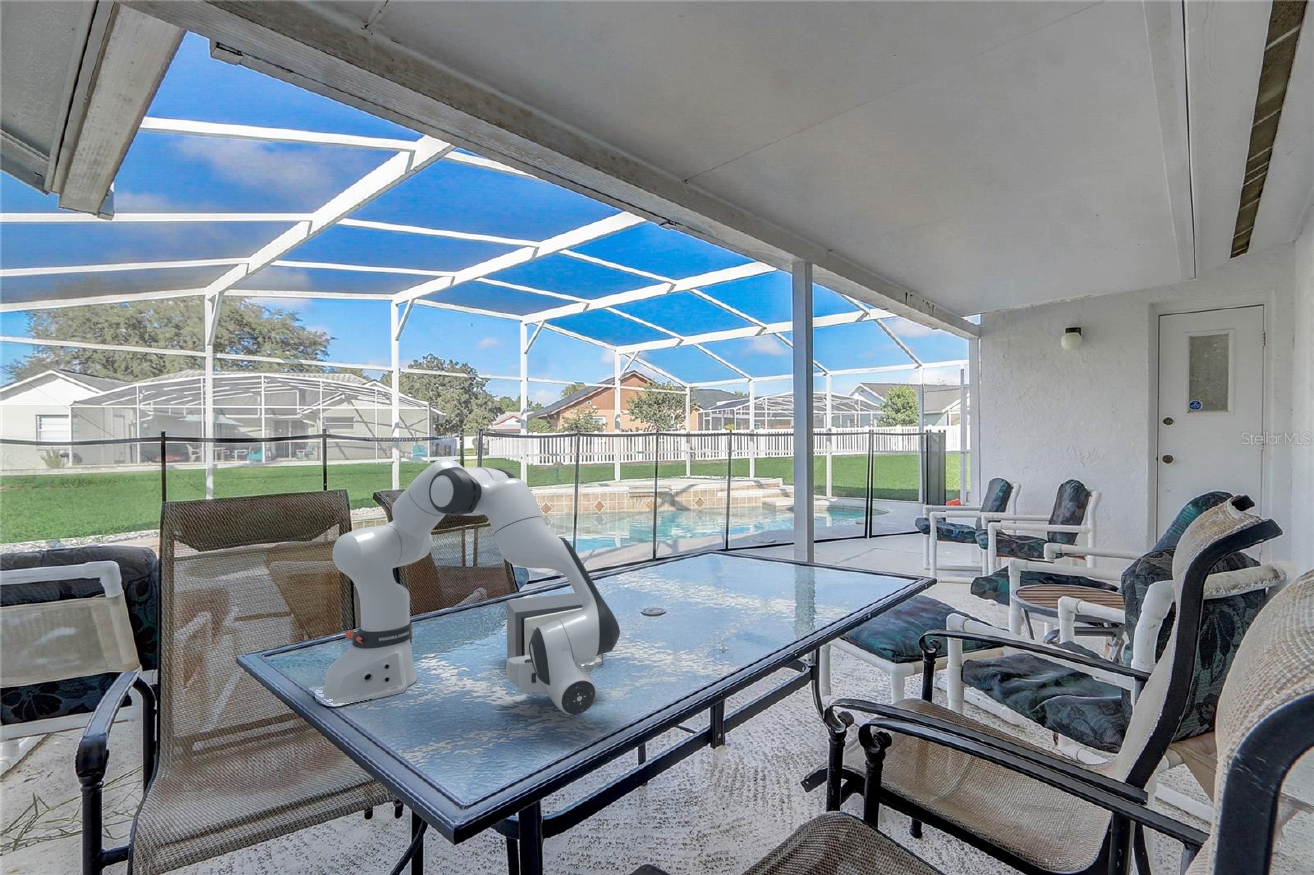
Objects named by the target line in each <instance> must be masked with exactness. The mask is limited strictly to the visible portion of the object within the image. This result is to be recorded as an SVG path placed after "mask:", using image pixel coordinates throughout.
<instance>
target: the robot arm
mask: <svg viewBox="0 0 1314 875" xmlns="http://www.w3.org/2000/svg"><path fill="white" fill-rule="evenodd" d="M446 515H447V516H453V517H458V516H467V517H468V516H472V517H473V516H482V515H483V516H486V518H487V519H488V521H489V523H490V526H491V531H492V533H493V537H494V540H495V543H496V546H497V548H498V550H499V553H500V554H501V556H502V558H503V559H504V560H505V561H506V562H508V563H510V564H512V565H513V566H516V567H521V568H526V569H548V570H549V569H550V570H553V571H557V572H560V573H561V574H562V575H563V576H565V578H566V579H567V580H568V582H569V585H570V586H571V588H572V589H573V591H574V593H576V595H577V597H578V599H579V600H580V602H581V604H582V606H583V608H582V609H581V610H580V611H578V612H576V613H573V614H570V615H568V616H565V617H563V618H560V619H557V620H554V621H551V622H549V623H546V624H544V625H542V626H539V627H537V628H536V629H535V631H534V632H533V634H532V637H531V640H530V643H529V652H530V655H525V656H519V657H512V658H509V659H507V658H506V662H505V664H506V666H505V667H506V671H505V672H506V676H507V678H508V680H509V681H510V682H511V683H512V685H514V686H516V687H518V691H519V693H521V694H543V695H548V697H549V698H550V700H551V701H552V703H553V704H554V705H555V706H556V707H557V708H558V709H559V710H560V711H561V712H562V713H564V714H566V715H569V716H577V715H580V714H583V713H584V712H586V711H588V710H589V709H590V707H592V705H593V704H594V701H595V699H596V698H597V697H596V696H597V689H596V685H595V682H594V680H593V677H591V675H590V673H589V672H591V671H594V670H596V668H598V667H599V666H601V665H602V664H603V663H602V660H601V659H600V658H597V657H596V656H598V655H601V654H603V655H604V654H607V653H610V652H612V651H613V650H614V648H615V646H616V644H618V641H619V638H620V635H621V629H620V625H619V621H618V619H617V618H616V616H615V615H614V613H613V612H612V609H610V607H609V605H608V604H607V602H606V601H605V600H604V598H603V597H602V595H601V593H600V592H599V590H598V588H597V587H596V585H595V582H594V581H593V580H592V578H591V576H590V574H589V571H587V569H586V567H585V565H584V564H583V562H582V561H581V558H580V557H579V555H578V554H577V552H576V550H575V549H574V547H573V546H572V544H571V543H570V542H569V541H568V540H567V538H565V537H562V536H557V535H556V534H555V533H554V532H553V531H552V530H551V529H550V528H549V527H548V526H547V523H546V521H545V519H544V516H543V514H542V511H541V508H540V506H539V504H538V502H537V500H536V498H535V496H534V494H533V492H532V490H531V489H530V487H529V486H528V485H527V483H526V482H525V481H524V480H522V479H520V478H517V477H516V476H515V475H514V474H513V473H511V472H510V471H508V470H505V469H501V468H491V467H483V466H474V467H473V466H470V467H469V466H468V467H467V466H466V467H463V466H462V465H461V464H460V463H459V462H457V461H455V460H453V459H449V458H442V459H439V460H438V459H437V460H436V461H434V462H433V463H432V464H430V465H429V466H428V467H426V468H425V469H424V470H423V471H422V472H421V473H419V474H418V475H417V476H416V477H415V478H414V479H413V480H412V482H411V483H410V484H409V485H407V487H406V488H405V489H404V490H403V491H402V493H401V494H400V495H399V496H398V497H397V499H396V500H395V501H394V502H393V504H392V506H391V516H392V520H391V521H390V522H388V523H386V524H381V525H374V526H366V527H360V528H357V529H354V530H351V531H348V532H346V533H344V534H341V535H340V536H338V538H337V539H336V541H335V543H334V544H333V548H332V561H333V563H334V565H335V567H336V568H337V569H338V571H339V572H341V573H343V574H344V575H346V576H347V577H348V578H349V579H350V580H351V582H353V585H354V586H355V588H356V590H357V594H358V598H359V608H360V627H359V629H358V630H356V632H355V631H354V630H351V629H349V630H347V631H346V633H345V634H344V636H345V638H346V639H348V641H349V640H350V641H351V642H352V646H350V647H349V648H348V649H347V650H345V652H344V653H343V654H342V655H340V656H339V657H338V658H337V659H336V660H335V661H334V662H332V663H331V664H330V665H329V667H327V670H326V674H325V680H324V684H323V685H322V686H323V687H322V686H321V687H322V688H319V687H318V688H319V689H317V688H316V689H317V690H323V692H322V693H318V694H324V697H322V698H320V699H326V700H329V699H333V701H331V702H326V703H333V704H338V703H351V702H358V701H362V700H367V701H369V700H368V699H372V700H376V699H381V698H384V697H385V698H386V697H389V696H392V695H397V694H398V695H399V694H401V693H404V692H406V691H407V689H408V687H410V686H411V685H413V684H414V683H415V682H416V681H417V680H418V675H417V673H416V672H417V671H416V669H415V665H414V660H413V653H412V642H413V627H412V623H413V622H411V620H410V619H411V616H410V615H411V613H410V612H411V611H410V610H411V609H410V607H411V606H410V605H411V604H410V602H411V601H410V598H411V596H410V595H411V594H410V591H409V590H408V588H406V587H405V586H404V585H402V584H400V583H397V582H396V579H395V577H394V572H393V569H395V568H399V567H405V566H408V565H411V564H414V563H416V562H418V561H421V560H422V559H424V558H425V557H427V556H428V555H429V554H430V552H431V550H432V547H433V546H432V545H433V536H432V534H431V533H432V531H433V530H434V529H435V527H436V526H437V525H438V524H439V523H440V522H442V520H443V519H444V517H445V516H446Z"/></svg>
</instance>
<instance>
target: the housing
mask: <svg viewBox="0 0 1314 875" xmlns="http://www.w3.org/2000/svg"><path fill="white" fill-rule="evenodd" d="M578 608H583V606H582V604H581V602H580V600H579V599H578V597H577V595H576V593H575V592H572V593H570V592H569V593H563V594H553V595H551V594H550V595H544V596H535V597H527V598H516V599H508V600H506V645H507V646H506V654H507V656H506V657H507V658H506V660H507V659H509V658H512V657H519V656H525V637H524V619H525V618H530V617H535V616H541V615H546V614H551V613H557V612H562V611H567V610H573V609H578Z"/></svg>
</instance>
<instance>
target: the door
mask: <svg viewBox="0 0 1314 875" xmlns="http://www.w3.org/2000/svg"><path fill="white" fill-rule="evenodd" d="M581 609H582V608H578V609H573V610H567V611H562V612H557V613H551V614H546V615H541V616H535V617H530V618H525V619H524V637H525V655H530V652H529V643H530V640H531V637H532V634H533V632H534V631H535V629H536V628H537V627H539V626H542V625H544V624H546V623H549V622H551V621H554V620H557V619H560V618H563V617H565V616H568V615H570V614H573V613H576V612H578V611H580V610H581ZM596 657H597V658H600V659H601V660H602V664H603V663H604V654H601V655H598V656H596Z"/></svg>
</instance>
